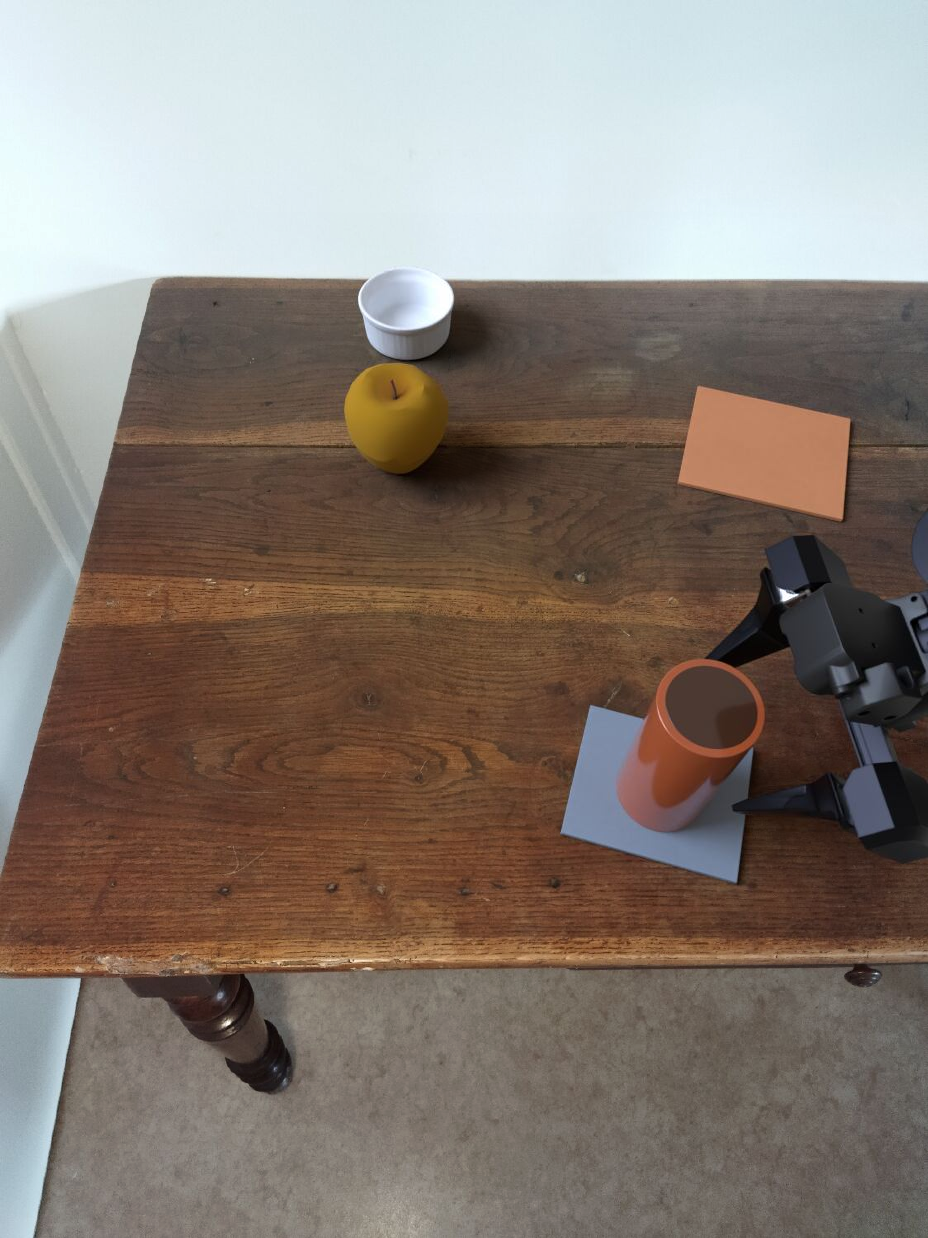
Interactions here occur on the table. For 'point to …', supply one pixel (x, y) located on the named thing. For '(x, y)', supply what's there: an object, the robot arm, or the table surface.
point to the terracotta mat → (767, 453)
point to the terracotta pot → (689, 743)
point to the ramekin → (406, 312)
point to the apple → (396, 416)
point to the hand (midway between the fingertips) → (716, 738)
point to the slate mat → (606, 823)
